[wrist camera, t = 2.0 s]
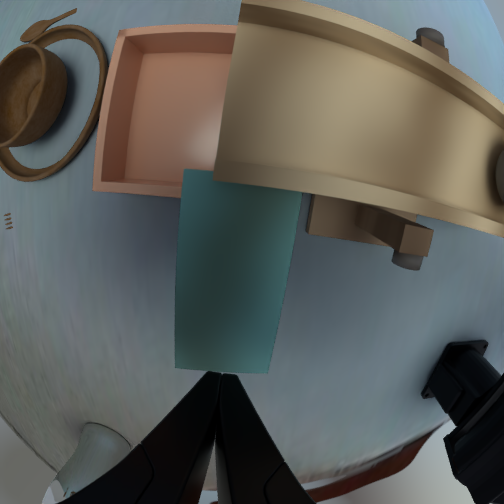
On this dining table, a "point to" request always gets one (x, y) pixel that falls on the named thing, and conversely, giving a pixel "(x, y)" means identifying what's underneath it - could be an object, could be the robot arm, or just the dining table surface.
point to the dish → (162, 107)
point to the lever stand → (378, 217)
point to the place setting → (40, 94)
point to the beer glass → (87, 461)
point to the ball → (500, 175)
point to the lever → (319, 164)
